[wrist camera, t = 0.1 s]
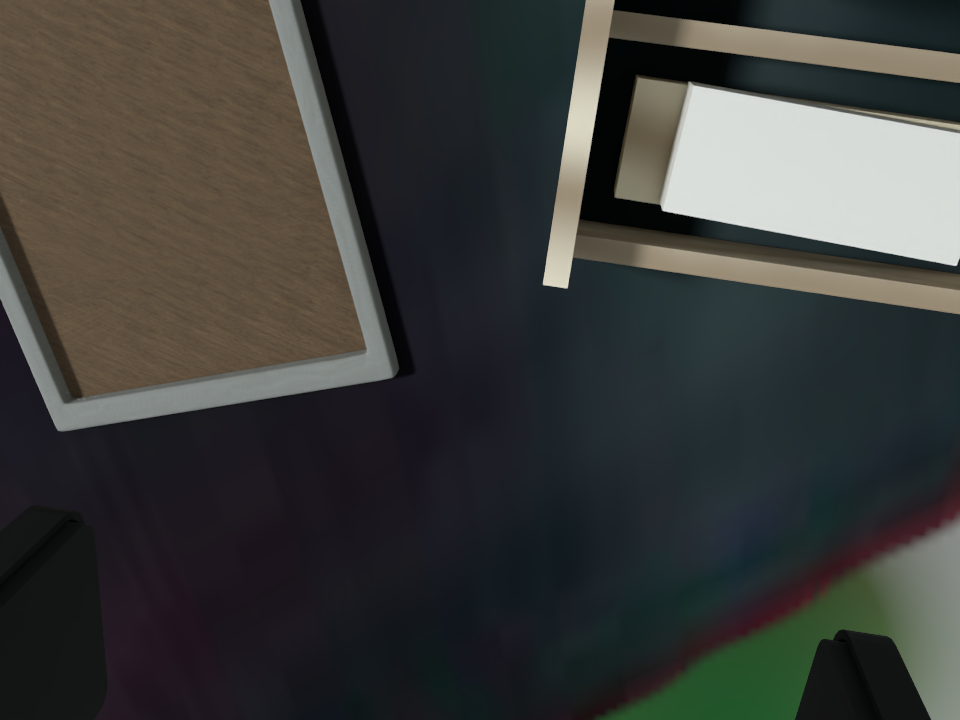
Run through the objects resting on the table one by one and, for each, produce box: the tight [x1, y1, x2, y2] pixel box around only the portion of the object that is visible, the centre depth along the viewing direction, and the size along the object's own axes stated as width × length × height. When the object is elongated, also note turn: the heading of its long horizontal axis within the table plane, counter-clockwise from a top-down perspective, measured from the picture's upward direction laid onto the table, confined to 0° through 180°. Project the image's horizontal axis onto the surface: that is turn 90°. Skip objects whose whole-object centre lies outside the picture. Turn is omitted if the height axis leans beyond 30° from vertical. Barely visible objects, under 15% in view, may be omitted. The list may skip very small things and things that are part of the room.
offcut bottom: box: [614, 75, 960, 205], centre depth 37 cm, size 5×16×2 cm, turn 82°
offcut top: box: [659, 81, 960, 266], centre depth 35 cm, size 5×12×2 cm, turn 80°
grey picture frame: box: [0, 0, 399, 431], centre depth 41 cm, size 19×2×30 cm
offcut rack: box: [543, 0, 960, 314], centre depth 33 cm, size 20×21×6 cm
